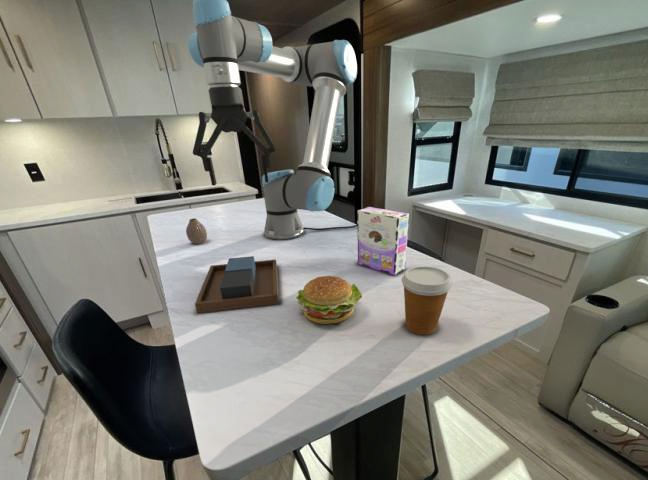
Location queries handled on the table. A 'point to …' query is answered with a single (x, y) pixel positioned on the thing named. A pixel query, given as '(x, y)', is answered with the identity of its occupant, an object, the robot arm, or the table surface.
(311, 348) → the table surface
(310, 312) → the food
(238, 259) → the pad
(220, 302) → the brown wooden tray
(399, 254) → the candy box
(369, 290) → the table surface
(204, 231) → the vase
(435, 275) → the disposable coffee cup
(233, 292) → the pad
